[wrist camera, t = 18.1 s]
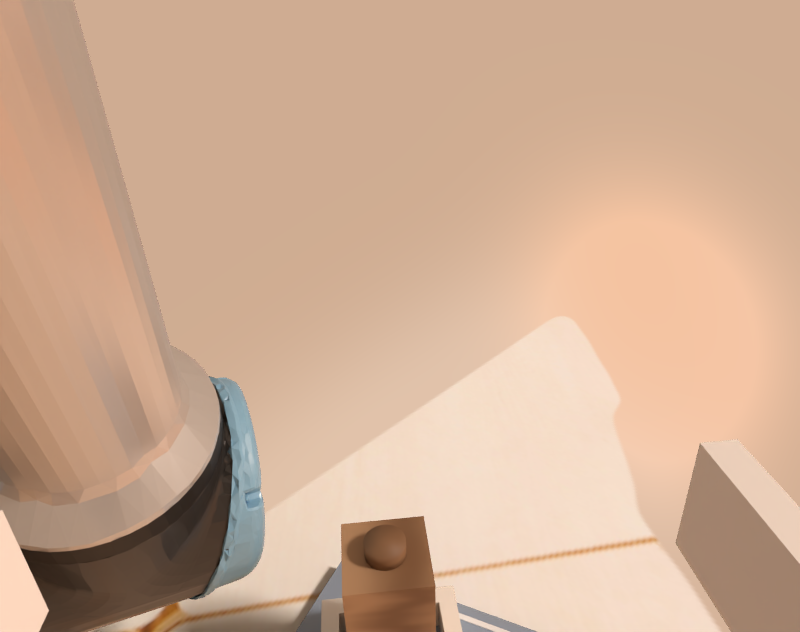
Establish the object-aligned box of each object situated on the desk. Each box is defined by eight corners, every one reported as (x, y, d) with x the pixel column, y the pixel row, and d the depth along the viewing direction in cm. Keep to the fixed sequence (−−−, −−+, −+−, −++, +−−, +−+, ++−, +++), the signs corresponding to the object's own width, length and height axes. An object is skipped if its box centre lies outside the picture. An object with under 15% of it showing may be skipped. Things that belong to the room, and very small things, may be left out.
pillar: (357, 725, 38) (340, 583, 32) (355, 649, 42) (339, 512, 36) (437, 715, 38) (435, 573, 32) (426, 641, 43) (423, 504, 37)
